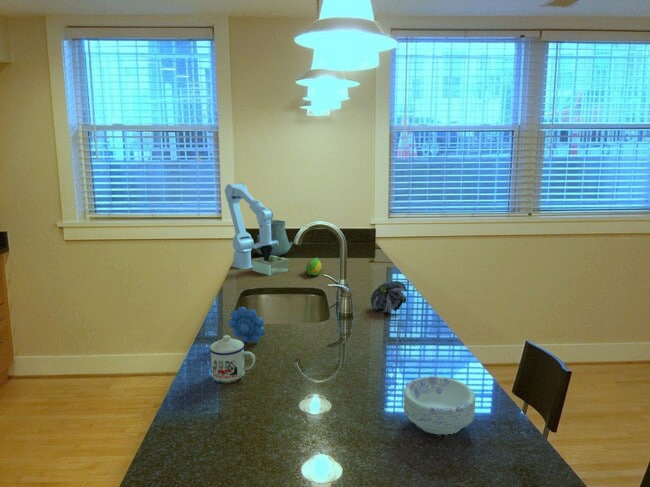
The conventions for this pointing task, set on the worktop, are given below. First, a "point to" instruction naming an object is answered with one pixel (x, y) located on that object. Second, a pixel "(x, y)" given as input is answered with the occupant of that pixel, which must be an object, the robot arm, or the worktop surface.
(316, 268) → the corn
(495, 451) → the worktop surface
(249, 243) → the robot arm
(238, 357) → the teacup with lid
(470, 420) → the paper bowls
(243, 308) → the blue flower ornament
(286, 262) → the crate
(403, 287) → the decorative flower
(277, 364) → the worktop surface
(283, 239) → the vessel
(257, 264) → the tailgate
